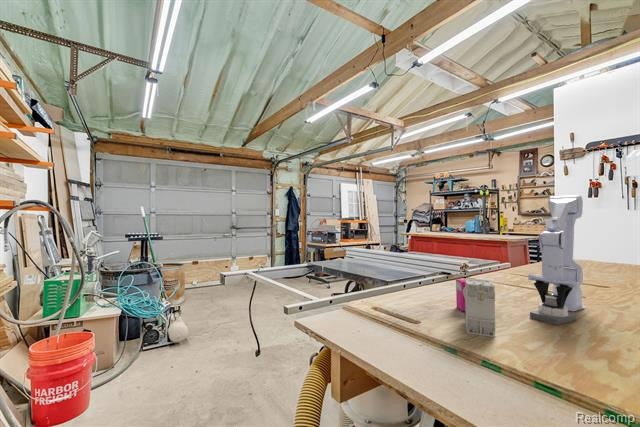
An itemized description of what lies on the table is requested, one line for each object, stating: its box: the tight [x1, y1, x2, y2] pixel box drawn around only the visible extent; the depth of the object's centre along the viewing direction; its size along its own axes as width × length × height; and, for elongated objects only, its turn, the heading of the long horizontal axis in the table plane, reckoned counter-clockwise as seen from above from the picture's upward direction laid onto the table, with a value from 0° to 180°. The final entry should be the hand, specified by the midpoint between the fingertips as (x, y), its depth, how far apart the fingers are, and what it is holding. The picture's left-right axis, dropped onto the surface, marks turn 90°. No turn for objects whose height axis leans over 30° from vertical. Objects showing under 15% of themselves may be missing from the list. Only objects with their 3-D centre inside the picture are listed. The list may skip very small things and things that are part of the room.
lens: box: [545, 292, 561, 309], centre depth 99 cm, size 4×4×6 cm
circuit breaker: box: [464, 278, 496, 338], centre depth 92 cm, size 8×14×15 cm, turn 155°
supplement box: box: [455, 278, 466, 313], centre depth 108 cm, size 6×6×12 cm
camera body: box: [529, 302, 577, 326], centre depth 99 cm, size 12×8×4 cm, turn 115°
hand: (552, 304), depth 99 cm, fingers closed on lens, 4 cm apart
